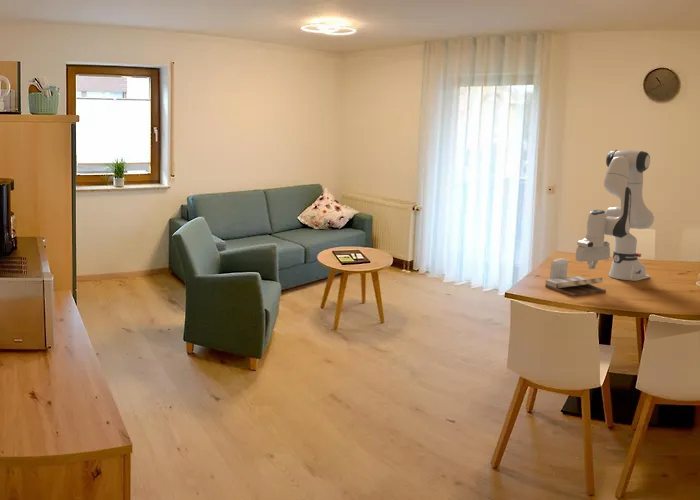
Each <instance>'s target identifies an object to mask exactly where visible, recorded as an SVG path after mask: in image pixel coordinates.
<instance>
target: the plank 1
mask: <svg viewBox="0 0 700 500" xmlns="http://www.w3.org/2000/svg"><path fill="white" fill-rule="evenodd" d="M557 284H558V288H563V287H572V286H579V285H585V284H586V280H578V281H570V282H563V283H557Z"/></svg>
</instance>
